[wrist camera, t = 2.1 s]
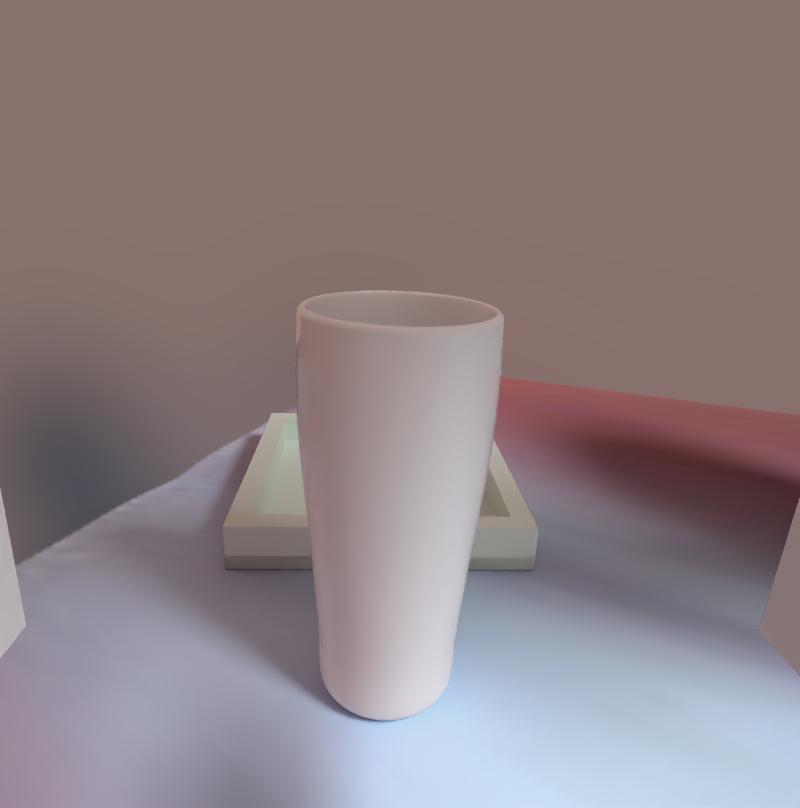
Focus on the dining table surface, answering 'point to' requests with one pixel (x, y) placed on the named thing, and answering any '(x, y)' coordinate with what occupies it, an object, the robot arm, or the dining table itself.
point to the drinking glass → (393, 483)
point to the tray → (287, 521)
